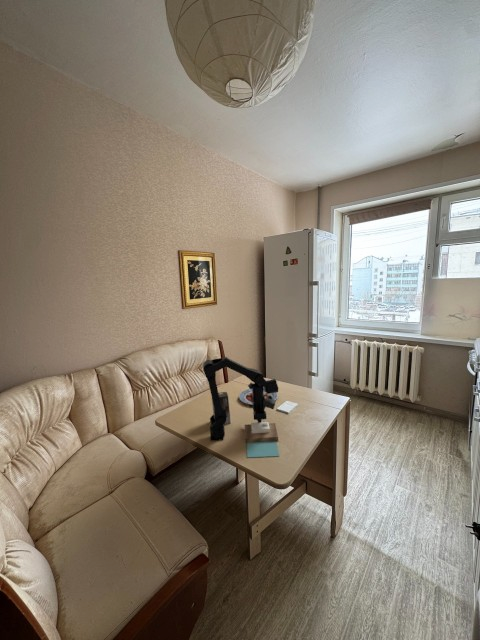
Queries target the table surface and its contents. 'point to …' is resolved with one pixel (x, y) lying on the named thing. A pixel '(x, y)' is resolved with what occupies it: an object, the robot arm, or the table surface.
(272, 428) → the brown flat block
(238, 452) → the table surface
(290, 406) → the external hard drive
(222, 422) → the robot arm
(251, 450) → the mat
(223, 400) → the coffee box
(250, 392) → the ceramic plate
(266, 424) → the white panel with tab
